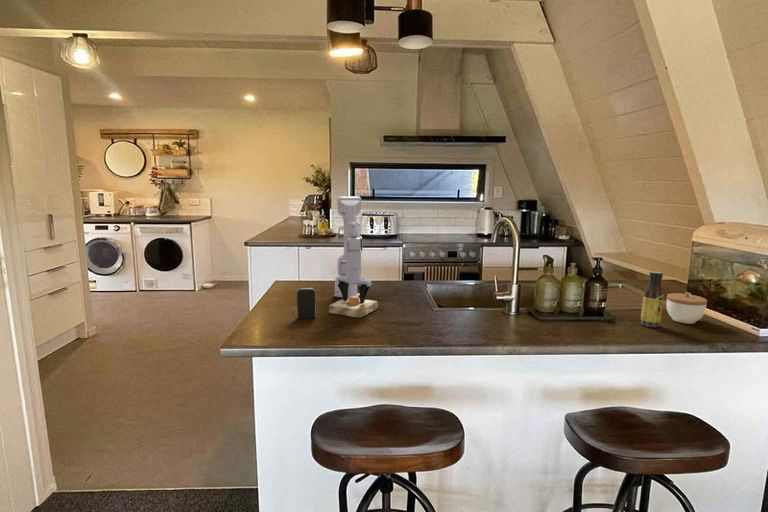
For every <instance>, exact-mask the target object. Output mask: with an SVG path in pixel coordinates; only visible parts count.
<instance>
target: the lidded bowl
mask: <svg viewBox="0 0 768 512" xmlns="http://www.w3.org/2000/svg"><path fill="white" fill-rule="evenodd" d="M707 304H708V300H707V298H704V297H702V296H700V295H699V296H698V295H694V294H690V292H688V291H685V293H681V292H680V293H679V292H678V293H675V292H673V293H667V294H666V310H667V313H668V315H669V316H670V318H671V319H672V320H673V321H675V322H677V323H681V324H686V325H687V324H690V325H691V324H695V323H696V322H697V321H699V320H701V319H702V317H703V316H704V314H705V312H706V308H707Z"/></svg>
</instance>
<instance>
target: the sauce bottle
mask: <svg viewBox="0 0 768 512" xmlns="http://www.w3.org/2000/svg"><path fill="white" fill-rule="evenodd" d="M648 275H649V282H648V284H647V286H645V288H644V289H643V290H644V292H643V297H642V304H641V314H640V324H641V326H644V327H648V328H658V327H660V326H661V321H662V313H663V304H664V296H665V293H664V289H663V287H662V279H663V276H664V273H663V272H661V271H655V270H651V271H649V274H648Z"/></svg>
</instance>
